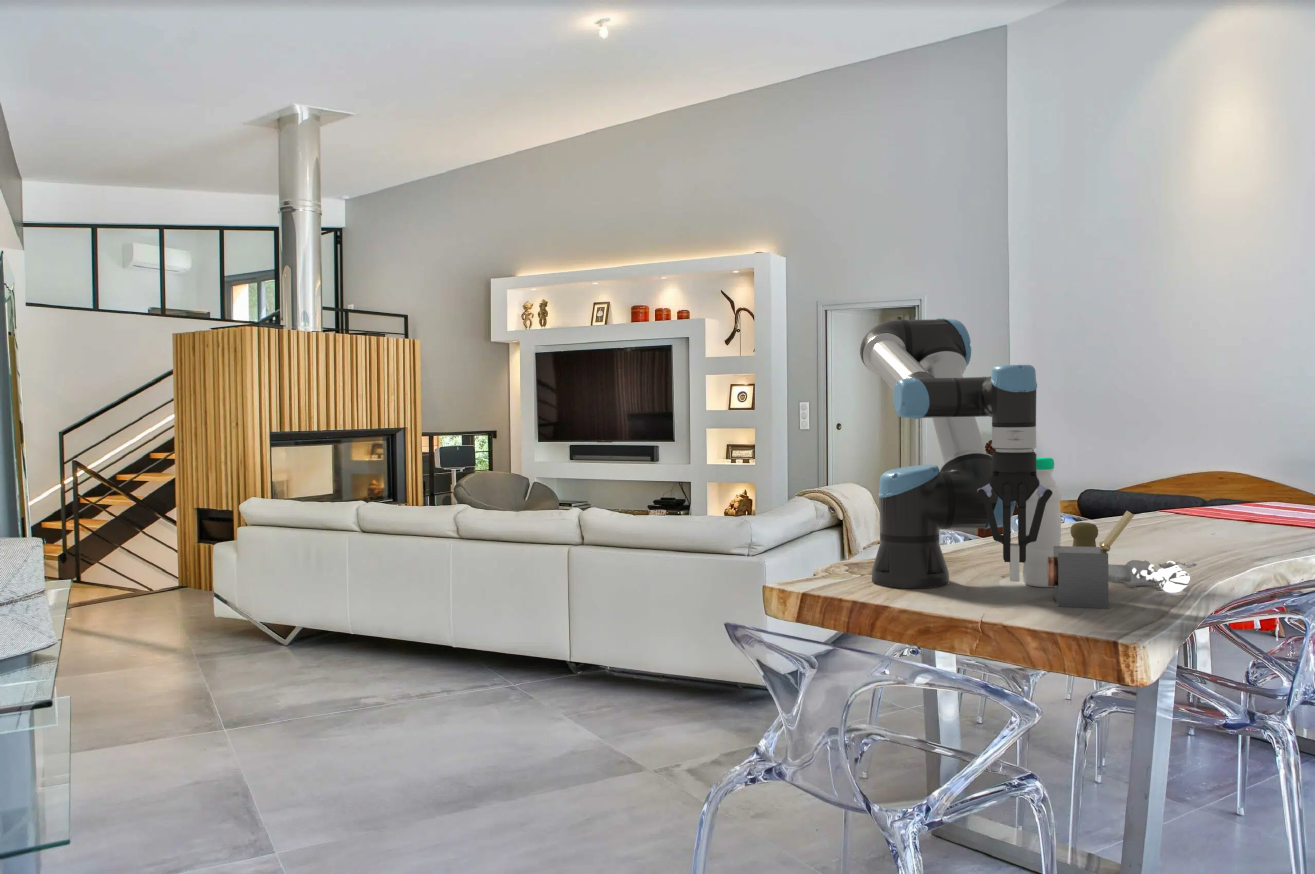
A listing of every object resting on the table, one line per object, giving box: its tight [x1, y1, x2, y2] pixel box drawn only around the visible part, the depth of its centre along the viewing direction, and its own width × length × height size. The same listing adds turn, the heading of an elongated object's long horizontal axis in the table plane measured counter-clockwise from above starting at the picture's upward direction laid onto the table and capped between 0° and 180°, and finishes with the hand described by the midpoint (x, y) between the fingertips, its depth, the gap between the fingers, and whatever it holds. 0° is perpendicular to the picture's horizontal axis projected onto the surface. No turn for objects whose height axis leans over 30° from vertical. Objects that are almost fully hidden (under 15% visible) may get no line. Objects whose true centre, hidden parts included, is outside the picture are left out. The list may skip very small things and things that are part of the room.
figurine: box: [1124, 559, 1198, 594], centre depth 181 cm, size 9×6×12 cm
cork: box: [1070, 521, 1099, 547], centre depth 195 cm, size 6×6×11 cm
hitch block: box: [1053, 545, 1110, 609], centre depth 170 cm, size 8×8×10 cm
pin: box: [1047, 557, 1131, 586], centre depth 169 cm, size 13×5×5 cm, turn 73°
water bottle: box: [1022, 456, 1062, 588], centre depth 187 cm, size 7×7×25 cm
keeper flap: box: [1098, 510, 1135, 553], centre depth 168 cm, size 8×4×1 cm
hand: (1014, 579), depth 173 cm, fingers closed
